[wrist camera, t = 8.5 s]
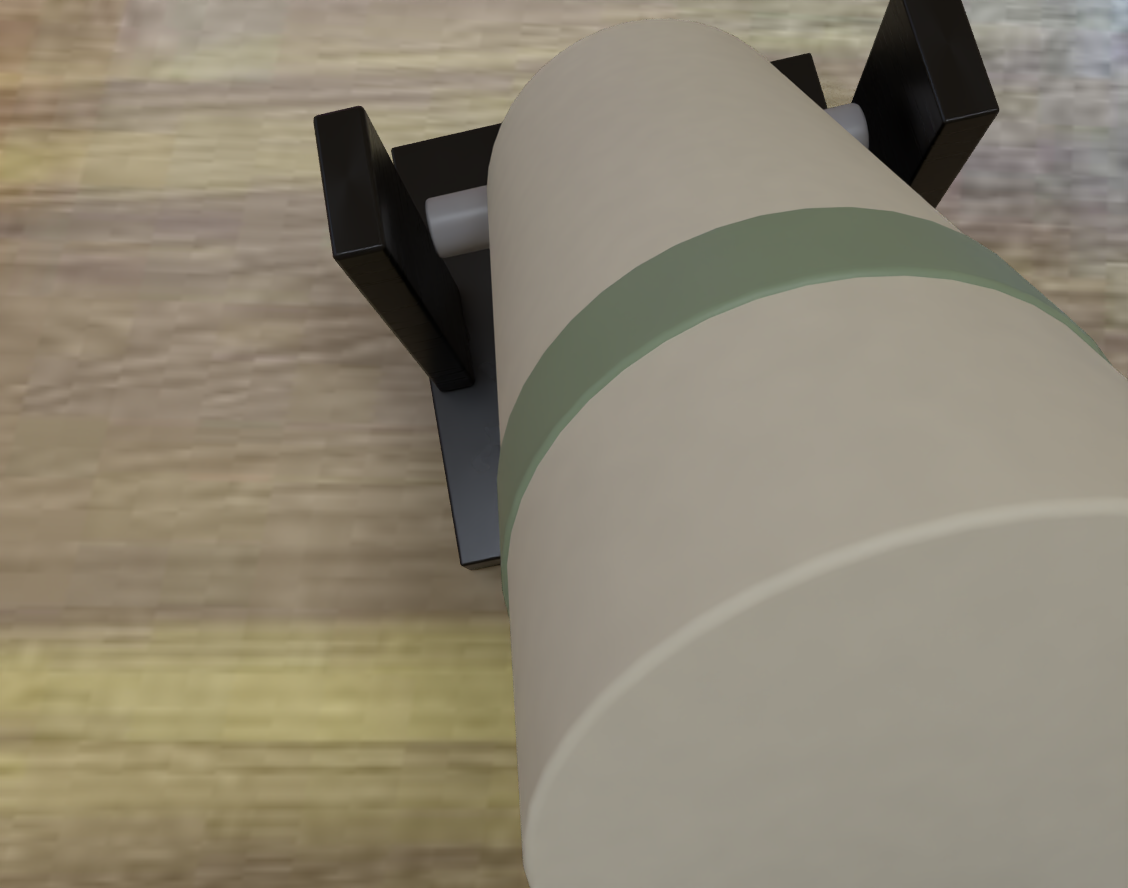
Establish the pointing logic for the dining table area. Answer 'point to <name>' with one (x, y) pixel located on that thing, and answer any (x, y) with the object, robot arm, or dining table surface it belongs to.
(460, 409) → the stand
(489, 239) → the beige green-banded cylinder
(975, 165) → the dining table surface
